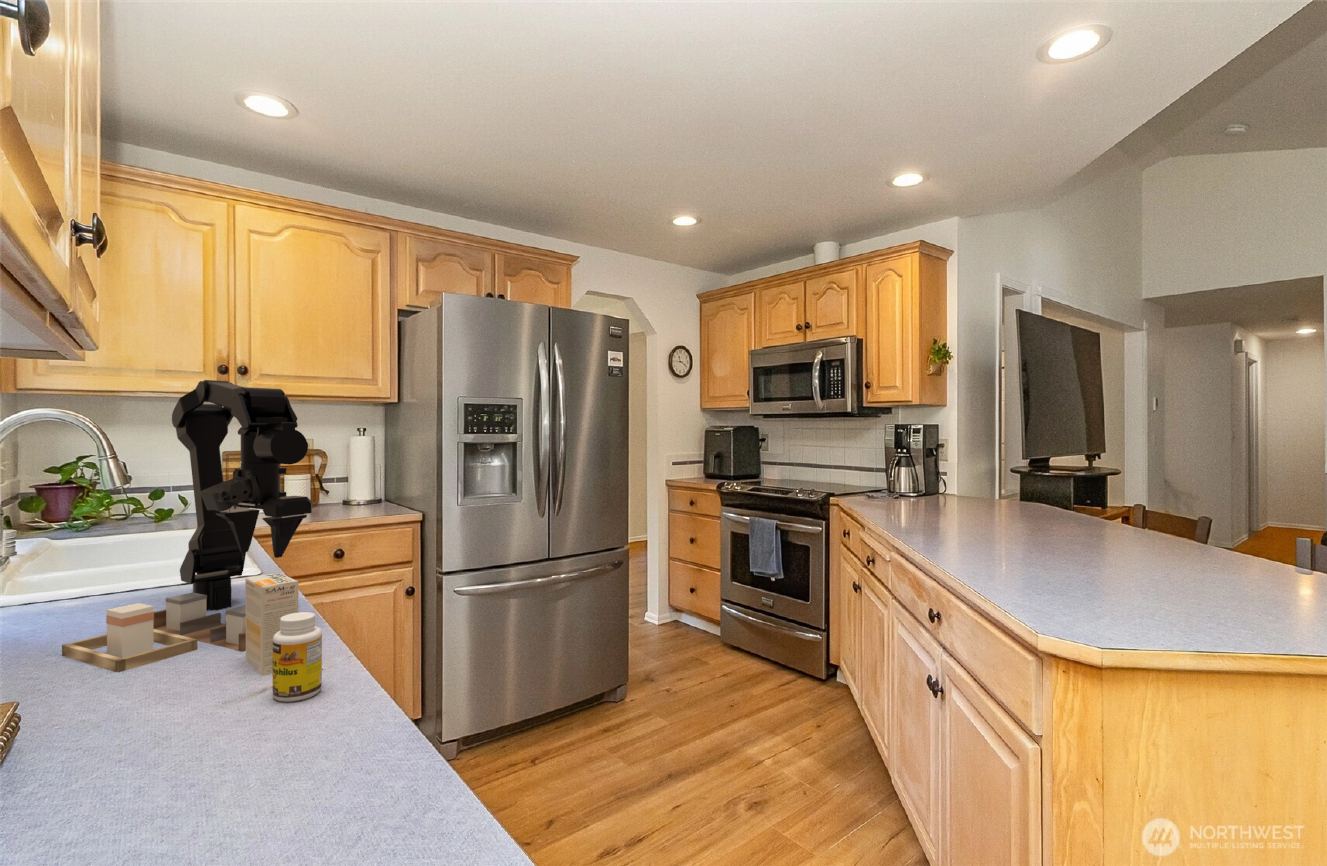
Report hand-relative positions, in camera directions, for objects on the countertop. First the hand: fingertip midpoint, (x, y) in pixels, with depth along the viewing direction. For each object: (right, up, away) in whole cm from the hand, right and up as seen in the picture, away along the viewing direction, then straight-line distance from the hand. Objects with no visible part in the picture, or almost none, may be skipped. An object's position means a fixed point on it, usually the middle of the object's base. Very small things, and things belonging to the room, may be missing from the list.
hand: (260, 554), depth 109 cm
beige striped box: (-11, -13, -13) cm, 21 cm away
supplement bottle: (+20, -14, -25) cm, 35 cm away
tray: (-11, -13, -13) cm, 22 cm away
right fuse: (+2, -12, -7) cm, 14 cm away
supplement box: (+12, -14, -17) cm, 25 cm away
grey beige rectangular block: (-12, -12, 0) cm, 17 cm away
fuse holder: (-5, -13, -4) cm, 14 cm away
